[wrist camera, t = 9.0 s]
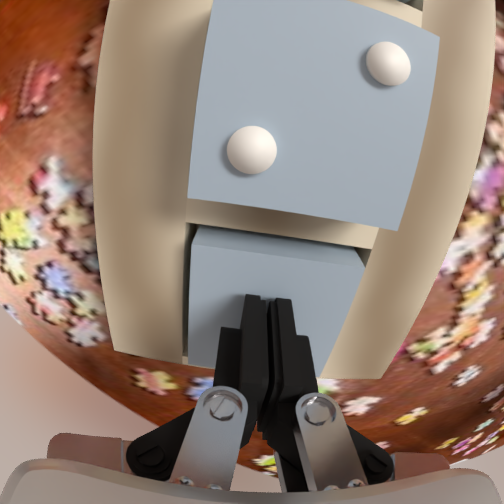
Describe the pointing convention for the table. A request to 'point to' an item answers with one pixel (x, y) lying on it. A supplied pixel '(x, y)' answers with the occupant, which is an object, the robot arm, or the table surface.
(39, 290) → the table surface
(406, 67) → the tile two
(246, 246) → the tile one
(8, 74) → the table surface
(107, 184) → the board
